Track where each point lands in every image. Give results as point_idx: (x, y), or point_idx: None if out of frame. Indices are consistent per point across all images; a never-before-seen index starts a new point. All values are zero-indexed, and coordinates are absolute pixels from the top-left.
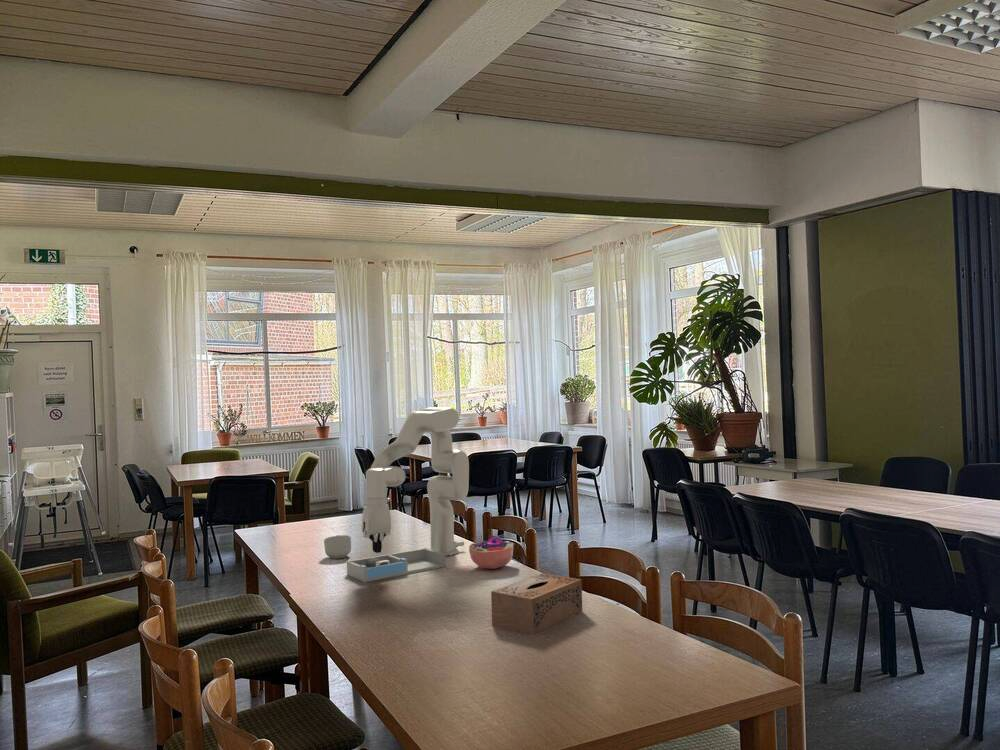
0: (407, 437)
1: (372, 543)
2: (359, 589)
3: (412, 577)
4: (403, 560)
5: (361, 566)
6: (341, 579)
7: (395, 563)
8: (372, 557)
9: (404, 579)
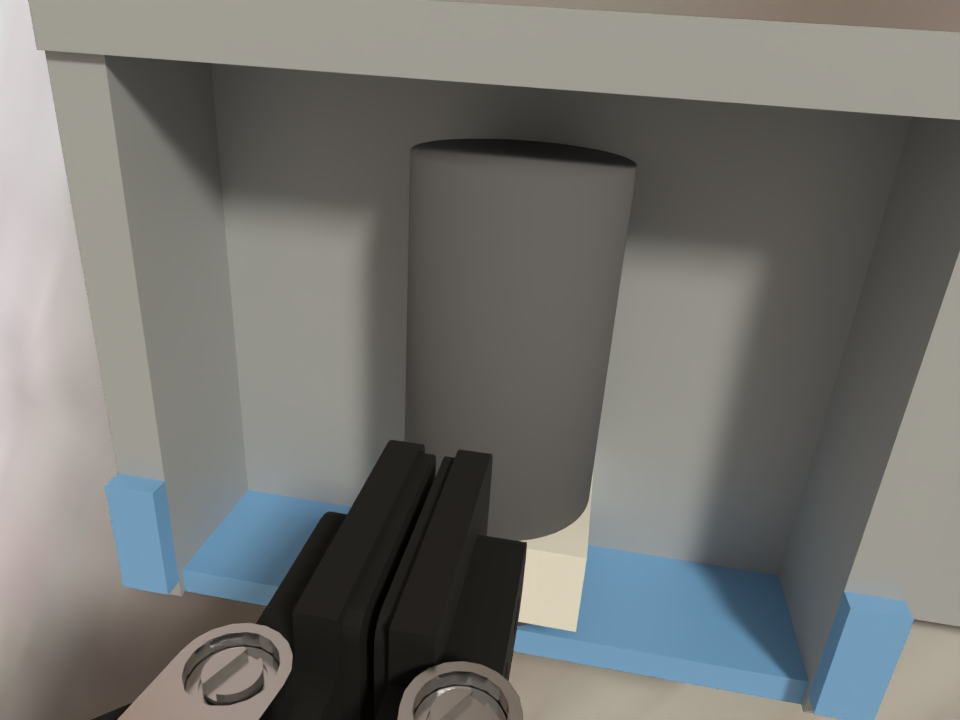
0: None
1: (264, 612)
2: (100, 638)
3: (726, 709)
4: (815, 689)
5: (117, 531)
6: (45, 182)
7: (635, 671)
8: (589, 75)
9: (608, 700)
